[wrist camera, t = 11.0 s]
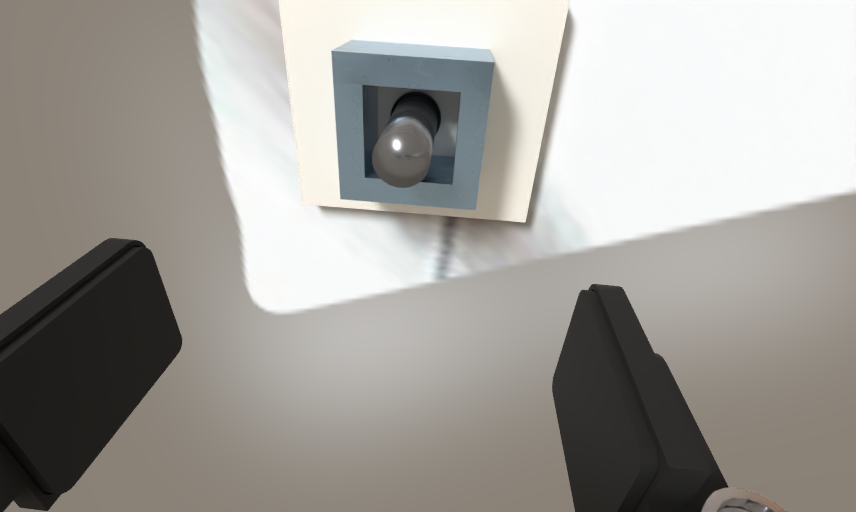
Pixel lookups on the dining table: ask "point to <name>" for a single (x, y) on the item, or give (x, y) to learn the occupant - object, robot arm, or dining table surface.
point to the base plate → (440, 26)
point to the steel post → (407, 140)
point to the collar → (417, 69)
